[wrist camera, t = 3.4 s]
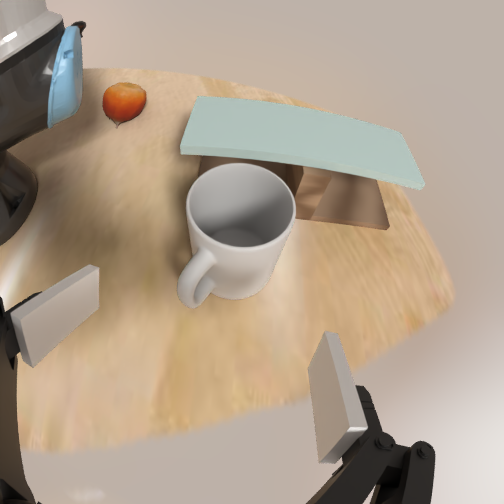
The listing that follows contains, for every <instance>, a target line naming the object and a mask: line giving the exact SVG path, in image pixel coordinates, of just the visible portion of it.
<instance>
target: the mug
mask: <svg viewBox="0 0 504 504" xmlns="http://www.w3.org/2000/svg"><path fill="white" fill-rule="evenodd" d="M186 216H187V223H188V229H189V235H190V242H191V248H192V254H193V257H192V258H191V260H190V261H189V262H188V264H187V265H186V266H185V268H184V269H183V271H182V273H181V274H180V277H179V279H178V283H177V294H178V297H179V299H180V301H181V302H182V303H183V304H184V305H185V306H187V307H188V308H196V307H198V306H199V305H200V304H202V302H203V301H204V300H205V299H206V298H207V296H208V295H209V294H210V293H212V294H214V295H216V296H218V297H221V298H224V299H230V300H238V299H244V298H248V297H250V296H252V295H254V294H256V293H258V292H259V291H260V290H261V289H262V288H264V286H265V285H266V284H267V282H268V281H269V279H270V277H271V275H272V272H273V270H274V267H275V265H276V263H277V261H278V258H279V256H280V254H281V252H282V250H283V247H284V245H285V243H286V241H287V238H288V236H289V234H290V232H291V229H292V227H293V224H294V221H295V216H296V205H295V200H294V197H293V194H292V192H291V190H290V189H289V187H288V186H287V185H286V184H285V182H284V181H283V180H282V179H281V178H279V177H278V176H277V175H276V174H274V173H272V172H271V171H269V170H267V169H265V168H262V167H260V166H256V165H252V164H247V163H230V164H224V165H220V166H217V167H214V168H212V169H210V170H208V171H207V172H205V173H203V174H202V175H201V176H200V177H199V178H198V179H197V180H196V181H195V182H194V183H193V185H192V186H191V188H190V190H189V192H188V195H187V199H186Z"/></svg>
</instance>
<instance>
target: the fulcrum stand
mask: <svg viewBox="0 0 504 504" xmlns="http://www.w3.org/2000/svg"><path fill="white" fill-rule="evenodd" d="M230 163H247V164H252V165H256V166H260V167H262V168H265V169H267V170H269V171H271V172H272V173H274V174H276V175H277V176H278V177H279V178H281V179H282V180H283V181H284V182H285V184H286V185H287V186H288V187H289V189H290V190H291V192H292V194H293V197H294V200H295V205H296V216H295V219H304V220H313V221H322V222H330V223H338V224H346V225H353V226H361V227H368V228H375V229H382V230H387V229H388V228H389V227H390V225H389V222H388V218H387V214H386V210H385V207H384V203H383V200H382V197H381V193H380V190H379V187H378V184H377V180H376V179H372V178H368V177H363V176H358V175H353V174H348V173H343V172H337V171H332V170H326V169H320V168H314V167H308V166H301V165H294V164H287V163H280V162H272V161H263V160H254V159H244V158H233V157H221V156H206V155H203V157H202V162H201V166H200V171H199V175H198V178H199V177H200V176H201V175H202V174H203V173H205V172H207V171H208V170H210V169H212V168H214V167H217V166H220V165H224V164H230Z"/></svg>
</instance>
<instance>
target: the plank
mask: <svg viewBox="0 0 504 504" xmlns="http://www.w3.org/2000/svg"><path fill="white" fill-rule="evenodd" d="M180 150H181V154H188V155H206V156H221V157H233V158H244V159H254V160H263V161H272V162H280V163H287V164H294V165H301V166H308V167H314V168H320V169H326V170H332V171H337V172H343V173H348V174H353V175H358V176H363V177H368V178H372V179H377V180H381V181H385V182H390V183H394V184H398V185H402V186H406V187H410V188H414V189H417V190H421V189H422V188H423V187H424V185H425V183H424V180H423V178H422V175H421V174H420V171H419V169H418V167H417V165H416V162H415V160H414V158H413V156H412V154H411V152H410V150H409V148H408V146H407V144H406V142H405V140H404V139H403V136H402V135H401V133H400V132H397V131H394V130H391V129H388V128H385V127H382V126H378V125H375V124H372V123H368V122H365V121H361V120H357V119H354V118H350V117H345V116H342V115H338V114H333V113H329V112H324V111H319V110H315V109H309V108H304V107H299V106H293V105H287V104H280V103H273V102H266V101H257V100H248V99H237V98H224V97H206V96H198V97H197V99H196V102H195V105H194V107H193V110H192V113H191V115H190V118H189V121H188V124H187V126H186V129H185V132H184V135H183V138H182V141H181V144H180Z"/></svg>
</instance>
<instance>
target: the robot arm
mask: <svg viewBox="0 0 504 504" xmlns="http://www.w3.org/2000/svg"><path fill="white" fill-rule="evenodd" d="M82 89H83V69H82V45H81V36H80V30H79V28H78V27H77V26H69V27H67V28H66V29H65V27H64V23H63V18H62V16H61V15H60V14H57V13H54V12H51V11H48V9H47V8H46V2H45V0H0V245H2V244H3V243H5V242H6V241H7V240H8V239H10V238H11V237H12V236H13V235H14V234H15V232H16V231H17V230H18V229H19V228H20V226H21V225H22V224H23V222H24V221H25V219H26V218H27V216H28V214H29V212H30V210H31V208H32V206H33V204H34V201H35V198H36V194H37V180H36V178H35V176H34V174H33V173H32V171H31V170H30V168H29V167H28V166H26V165H25V164H24V163H22V162H21V161H20V160H18V159H17V158H16V157H14V156H13V155H12V154H10V153H9V152H8V151H7V149H8V148H10V147H12V146H13V145H15V144H17V143H19V142H21V141H22V140H24V139H26V138H28V137H30V136H32V135H34V134H36V133H38V132H40V131H42V130H44V129H46V128H49V129H50V128H52V127H53V125H55V124H57V123H59V122H61V121H63V120H65V119H67V118H69V117H71V116H73V115H74V114H75V113H76V112H77V111H78V109H79V107H80V105H81V100H82ZM98 308H99V267H96V266H93V265H91V264H89V265H87V266H85V267H83V268H82V269H80V270H78V271H77V272H75V273H73V274H71V275H70V276H68V277H66V278H65V279H63V280H61V281H60V282H58V283H56V284H55V285H53V286H51V287H50V288H48V289H47V290H45V291H43V292H42V291H41V292H38V293H35V294H32V295H31V296H29V297H28V298H27V299H24V300H23V301H22V302H20V303H18V304H17V305H15V306H14V307H12V308H11V309H9V310H8V311H6V312H5V310H4V305H3V300H2V298H1V297H0V504H36V502H35V499H34V496H33V494H32V492H31V490H30V488H29V486H28V484H27V482H26V480H25V475H24V470H23V464H22V458H21V451H20V444H19V434H18V422H17V364H18V359H17V354H18V353H19V352H21V355H22V359H23V361H24V362H26V363H27V364H28V365H30V366H31V367H33V368H34V367H35V366H36V365H37V364H38V363H39V362H40V361H41V360H42V359H43V358H44V357H45V356H46V355H47V354H48V353H49V352H50V351H51V350H53V349H54V348H55V347H56V346H57V345H58V344H59V343H60V342H61V341H62V340H63V339H64V338H66V337H67V336H68V335H69V334H70V333H71V332H72V331H73V330H74V329H76V328H77V327H78V326H79V325H80V324H81V323H82V322H83V321H85V320H86V319H87V318H88V317H89V316H90V315H92V314H93V313H94V312H95V311H96V310H97V309H98ZM308 375H309V382H310V390H311V398H312V406H313V414H314V423H315V432H316V441H317V450H318V461H319V463H332V464H333V463H334V464H335V463H336V462H337V461H338V460H339V459H340V458H341V457H342V461H343V464H342V465H341V466H340V467H339V468H338V469H337V470H336V471H335V472H334V473H333V474H332V475H333V476H332V477H331V478H330V479H329V480H328V481H327V482H326V484H324V486H323V487H322V488H321V489H320V490H319V491H318V492H317V493H316V494H315V495H314V496H313V497H312V498H311V499H310V500H309V501H308V502H307V503H306V504H363V502H364V501H365V500H366V498H367V497H368V495H369V494H370V492H371V491H372V489H373V488H374V486H375V485H376V486H375V489H374V493H373V496H372V498H371V502H370V504H430V503H431V496H432V489H433V479H434V469H435V451H434V449H433V447H432V446H431V445H430V444H428V443H427V442H424V441H418V442H416V443H415V444H413V445H412V446H411V447H406V446H401V445H397V444H396V443H395V440H394V439H393V437H391V436H390V435H389V434H387V433H384V432H383V431H382V428H381V425H380V422H379V419H378V416H377V413H376V410H375V408H374V404H373V403H372V399H371V396H370V394H369V392H368V391H367V390H366V389H365V387H364V386H357V385H355V383H354V380H353V377H352V374H351V371H350V368H349V365H348V362H347V359H346V356H345V353H344V350H343V347H342V344H341V342H340V339H339V336H338V333H333V332H328V331H325V332H324V334H323V336H322V339H321V341H320V343H319V345H318V348H317V350H316V352H315V354H314V356H313V358H312V360H311V363H310V365H309V367H308ZM37 504H41V503H40V502H38V503H37Z"/></svg>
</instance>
